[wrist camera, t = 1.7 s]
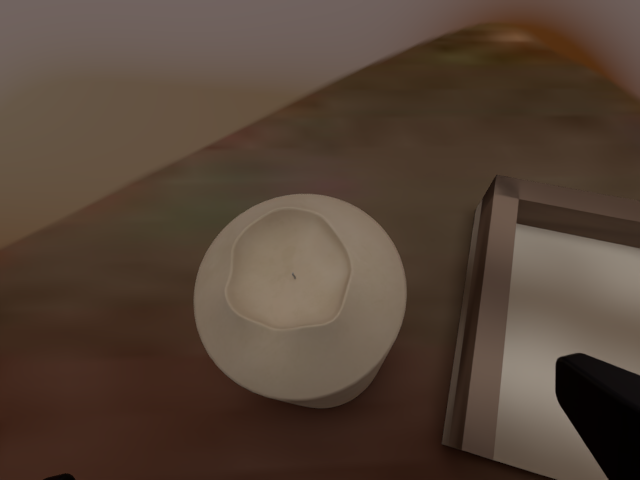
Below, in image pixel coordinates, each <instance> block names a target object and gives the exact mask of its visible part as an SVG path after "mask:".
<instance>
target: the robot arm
mask: <svg viewBox="0 0 640 480" xmlns="http://www.w3.org/2000/svg"><path fill="white" fill-rule="evenodd" d="M555 394H556V398H557V400H558V403H559V405H560V406H561V408H562V409H563V411H564V412H565V414H566V416H567V417H568V419H569V420H570V422H571V423H572V425H573V426H574V428H575V429H576V431H577V432H578V434H579V435H580V437H581V439H582V440H583V442H584V443H585V445H586V446H587V448H588V449H589V451H590V452H591V454H592V455H593V457H594V458H595V460H596V461H597V463H598V465H599V466H600V468H601V469H602V471H603V472H604V474H605V475H606V477H607V478H608V480H640V375H638V374H636V373H633V372H630V371H628V370H625V369H623V368H620V367H617V366H615V365H612V364H610V363H607V362H604V361H602V360H599V359H597V358H594V357H592V356H589V355H586V354H583V353H574V354H569V355H565V356H561V357H559V358H558V359H557V361H556V365H555ZM44 480H75V478H74V477H73V476H72V475H70V474H66V473H65V474H61V475H56V476H52V477H48V478H46V479H44Z"/></svg>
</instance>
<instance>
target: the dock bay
mask: <svg viewBox="0 0 640 480" xmlns="http://www.w3.org/2000/svg"><path fill="white" fill-rule="evenodd" d="M574 353H583V354H586V355H589V356H592V357H594V358H597V359H599V360H602V361H604V362H607V363H610V364H612V365H615V366H617V367H620V368H623V369H625V370H628V371H630V372H633V373H636V374H638V375H640V201H637V200H632V199H626V198H621V197H615V196H610V195H604V194H599V193H593V192H588V191H582V190H577V189H571V188H566V187H560V186H555V185H549V184H544V183H539V182H533V181H528V180H522V179H517V178H511V177H506V176H500V175H496V176H495V178H494V180H493V182H492V183H491V185H490V187H489V188H488V190H487V192H486V193H485V195H484V197H483V199H482V200H481V202H480V204H479V205H478V207H477V209H476V211H475V218H474V225H473V232H472V238H471V245H470V252H469V259H468V266H467V273H466V280H465V287H464V294H463V301H462V308H461V314H460V321H459V328H458V335H457V342H456V349H455V356H454V363H453V370H452V377H451V383H450V390H449V397H448V404H447V411H446V418H445V425H444V432H443V439H442V444H443V445H446V446H449V447H453V448H456V449H459V450H462V451H466V452H469V453H472V454H475V455H479V456H482V457H485V458H488V459H492V460H495V461H498V462H501V463H505V464H508V465H511V466H514V467H517V468H521V469H524V470H527V471H530V472H534V473H537V474H540V475H543V476H547V477H550V478H553V479H556V480H608V478H607V477H606V475H605V474H604V472H603V471H602V469H601V468H600V466H599V465H598V463H597V461H596V460H595V458H594V457H593V455H592V454H591V452H590V451H589V449H588V448H587V446H586V445H585V443H584V442H583V440H582V439H581V437H580V435H579V434H578V432H577V431H576V429H575V428H574V426H573V425H572V423H571V422H570V420H569V419H568V417H567V416H566V414H565V412H564V411H563V409H562V408H561V406H560V405H559V403H558V400H557V398H556V394H555V365H556V361H557V359H558V358H559V357H561V356H565V355H569V354H574Z"/></svg>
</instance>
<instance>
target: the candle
mask: <svg viewBox="0 0 640 480" xmlns="http://www.w3.org/2000/svg"><path fill="white" fill-rule="evenodd" d="M406 299H407V287H406V278H405V272H404V268H403V264H402V261H401V258H400V256H399V253H398V251H397V249H396V247H395V245H394V243H393V242H392V240H391V239H390V237H389V236H388V234H387V233H386V232H385V231H384V229H383V228H382V227H381V226H380V225H379V224H378V223H377V222H376V221H375V220H374V219H373V218H372V217H370V216H369V215H368V214H366V213H365V212H363V211H362V210H361V209H359V208H357V207H355V206H353V205H351V204H349V203H347V202H344V201H342V200H339V199H336V198H332V197H328V196H324V195H316V194H294V195H286V196H281V197H277V198H273V199H270V200H267V201H264V202H262V203H260V204H258V205H255V206H253V207H251V208H250V209H248V210H246V211H245V212H243V213H242V214H240V215H239V216H238V217H236V218H235V219H234V220H232V221H231V222H230V223H229V224H228V225H227V226H226V227H225V228H224V229H223V230H222V231H221V232H220V233H219V235H218V236H217V237H216V238H215V240H214V241H213V242H212V244H211V246H210V247H209V249H208V250H207V252H206V254H205V256H204V258H203V260H202V262H201V265H200V268H199V271H198V274H197V278H196V283H195V288H194V301H193V303H194V316H195V321H196V326H197V330H198V333H199V336H200V338H201V341H202V343H203V345H204V347H205V349H206V351H207V353H208V354H209V356H210V357H211V359H212V360H213V361H214V363H215V364H216V365H217V366H218V367H219V368H220V369H221V370H222V371H223V373H224V374H225V375H226V376H228V377H229V378H230V379H232V380H233V381H234V382H236V383H237V384H238V385H240V386H242V387H244V388H246V389H247V390H249V391H251V392H254V393H256V394H259V395H262V396H264V397H268V398H271V399H276V400H280V401H284V402H288V403H292V404H296V405H300V406H305V407H310V408H331V407H336V406H340V405H342V404H345V403H347V402H349V401H351V400H353V399H354V398H356V397H357V396H358V395H360V394H361V393H362V392H363V391H364V390H365V389H366V388H367V387H368V386H369V385H370V383H371V382H372V381H373V380H374V378H375V376H376V374H377V373H378V371H379V369H380V367H381V365H382V364H383V362H384V360H385V358H386V356H387V355H388V353H389V351H390V349H391V347H392V345H393V344H394V342H395V340H396V338H397V335H398V333H399V330H400V328H401V325H402V322H403V318H404V314H405V309H406Z"/></svg>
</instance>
